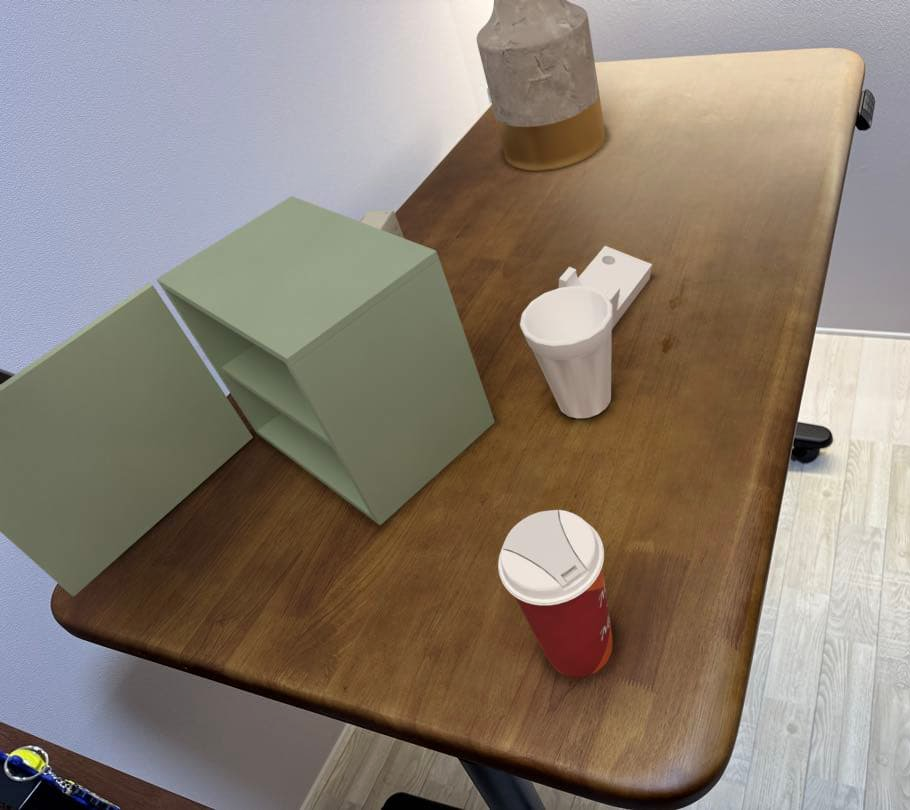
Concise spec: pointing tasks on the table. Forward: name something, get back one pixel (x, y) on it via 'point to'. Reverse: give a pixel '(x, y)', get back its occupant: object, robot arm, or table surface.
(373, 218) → the cosmetic box
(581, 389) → the cup
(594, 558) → the coffee cup
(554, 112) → the vase
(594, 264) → the bracket
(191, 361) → the cupboard door
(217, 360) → the cupboard
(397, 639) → the table surface
